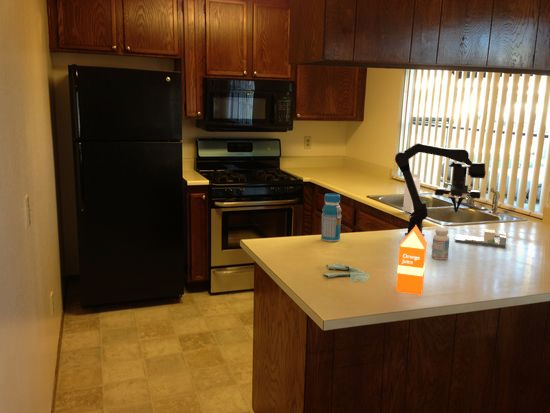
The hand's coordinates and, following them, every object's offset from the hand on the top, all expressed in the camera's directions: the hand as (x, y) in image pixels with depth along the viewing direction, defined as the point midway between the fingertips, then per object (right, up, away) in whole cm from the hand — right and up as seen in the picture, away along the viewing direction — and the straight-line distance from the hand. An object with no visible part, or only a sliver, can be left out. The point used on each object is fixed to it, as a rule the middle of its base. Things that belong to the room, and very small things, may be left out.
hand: (455, 212), depth 220 cm
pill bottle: (-17, -18, -29) cm, 38 cm away
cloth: (-58, -21, -48) cm, 79 cm away
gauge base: (+9, -13, -4) cm, 17 cm away
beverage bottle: (-57, -12, -5) cm, 58 cm away
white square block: (+14, -12, -8) cm, 20 cm away
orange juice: (-38, -24, -63) cm, 77 cm away
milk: (-5, -1, +57) cm, 57 cm away
